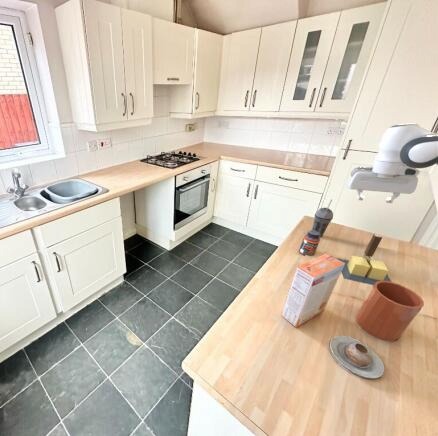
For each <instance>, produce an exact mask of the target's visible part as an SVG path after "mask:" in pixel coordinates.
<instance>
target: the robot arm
mask: <svg viewBox="0 0 438 436" xmlns="http://www.w3.org/2000/svg"><path fill="white" fill-rule="evenodd" d="M377 150H378V151H377V154H376V156H375V157H374V159H373V162H372V165H371V166H357V167H354V168H353V169H351V173H350V178H349V179H348V182H347V187H348V188H349V190H355V191H356V195H357V198H356V200H357V201H363V200H364V198H365V196H364V195H362V194H363V191H366V192H381V193H392V194H393V195H392V196H390V197H387V198H386V200H385V203H387V204H393V203H394V200H396V199H397V198H398V197H400V195H401V194H405V195H406V194H407V195H412V194H413V193H415V191H416V189H417V187H418V183H419V178H418V176H419V175H420V172H421V171H420V170H419V169H426V168H430V167H433V166H434V165H436V164H438V133H436V132H433V131H430V130H428V129H426V128H424V127H422V126H420V125H419V124H418V123H416V122H408V123H407V122H406V123H401V124H394V125H391V126H390V127H388V128H387V129H386V130H385V132H384V133H383V135H382V137H381V140H380V142H379V144H378V147H377ZM361 193H362V194H361Z"/></svg>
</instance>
